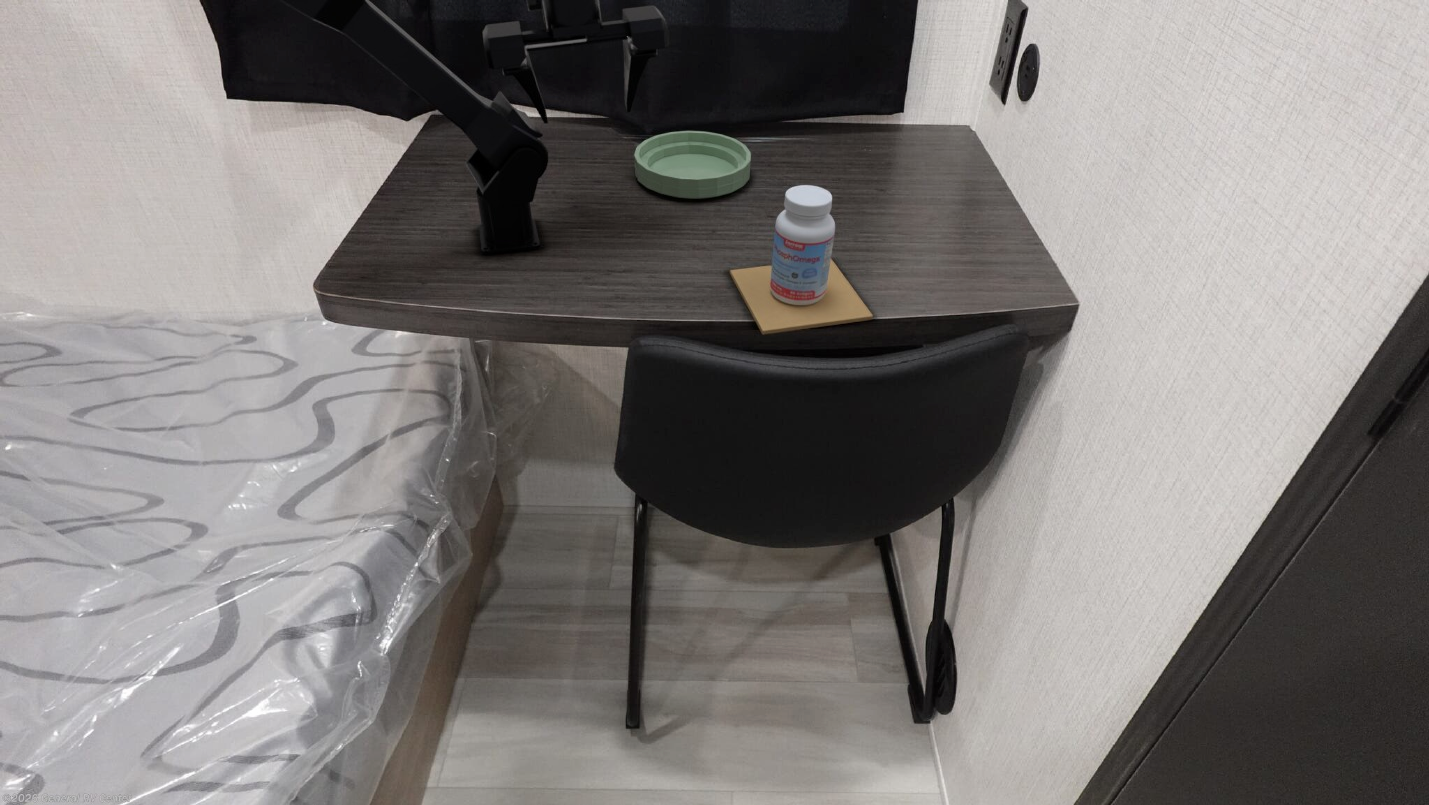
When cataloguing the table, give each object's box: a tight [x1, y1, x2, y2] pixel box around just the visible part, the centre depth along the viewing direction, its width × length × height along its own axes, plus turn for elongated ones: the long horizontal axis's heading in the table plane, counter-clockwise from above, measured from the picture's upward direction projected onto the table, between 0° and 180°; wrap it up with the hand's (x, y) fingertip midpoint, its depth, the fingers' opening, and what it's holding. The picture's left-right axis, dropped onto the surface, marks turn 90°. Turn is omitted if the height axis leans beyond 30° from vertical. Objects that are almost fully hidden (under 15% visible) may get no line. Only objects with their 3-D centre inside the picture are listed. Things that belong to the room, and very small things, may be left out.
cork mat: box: [729, 258, 874, 335], centre depth 90 cm, size 12×12×1 cm
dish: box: [633, 130, 752, 200], centre depth 111 cm, size 15×15×3 cm
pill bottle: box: [770, 184, 836, 305], centre depth 86 cm, size 6×6×11 cm
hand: (587, 116), depth 93 cm, fingers open, 9 cm apart
